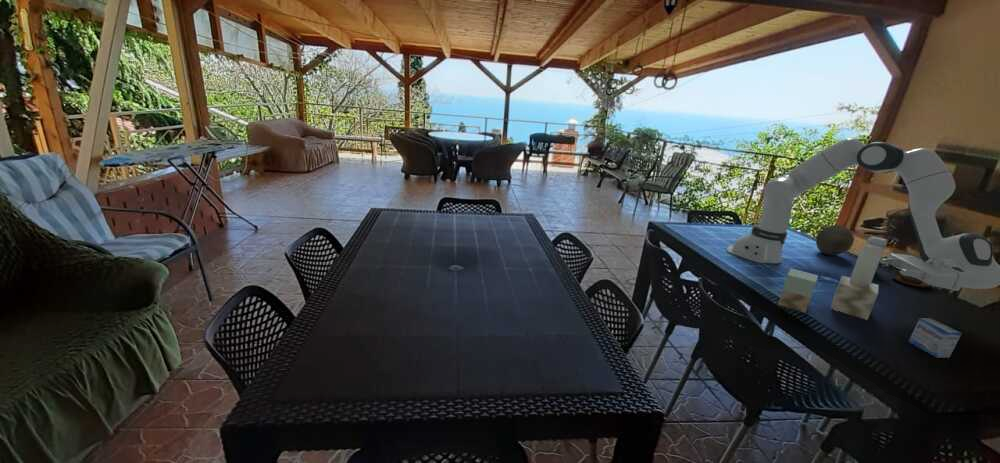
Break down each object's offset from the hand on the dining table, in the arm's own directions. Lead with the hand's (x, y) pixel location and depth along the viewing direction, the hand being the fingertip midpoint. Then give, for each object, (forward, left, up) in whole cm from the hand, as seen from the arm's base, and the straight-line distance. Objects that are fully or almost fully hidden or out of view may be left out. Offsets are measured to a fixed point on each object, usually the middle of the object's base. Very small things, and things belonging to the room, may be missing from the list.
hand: (892, 266), depth 132 cm
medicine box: (+13, -18, -18) cm, 29 cm away
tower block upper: (-21, -16, -12) cm, 29 cm away
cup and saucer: (+11, +48, -18) cm, 52 cm away
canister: (-6, -4, -8) cm, 11 cm away
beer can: (-3, +52, -18) cm, 55 cm away
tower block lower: (-21, -16, -18) cm, 32 cm away
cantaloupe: (-17, +62, -18) cm, 67 cm away
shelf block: (-6, -4, -18) cm, 19 cm away
